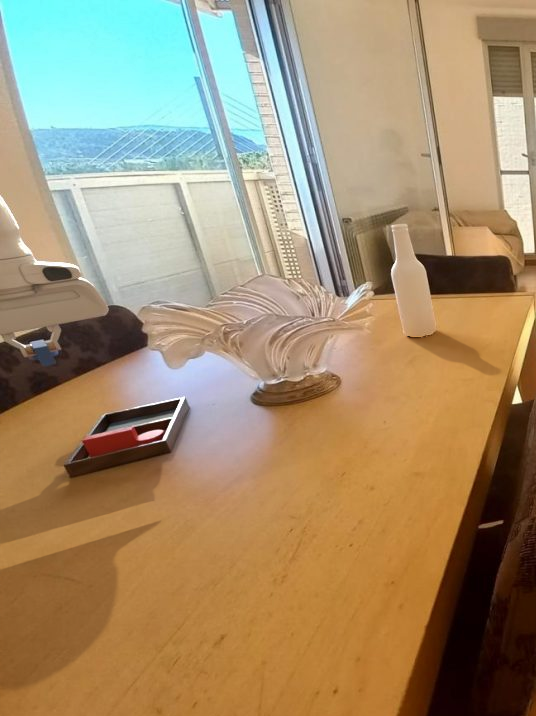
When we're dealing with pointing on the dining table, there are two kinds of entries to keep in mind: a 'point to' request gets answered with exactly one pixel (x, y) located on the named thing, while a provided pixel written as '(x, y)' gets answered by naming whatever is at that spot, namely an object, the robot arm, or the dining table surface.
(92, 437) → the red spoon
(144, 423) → the tray
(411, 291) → the alcohol
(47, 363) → the blue toy piece
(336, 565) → the dining table surface
